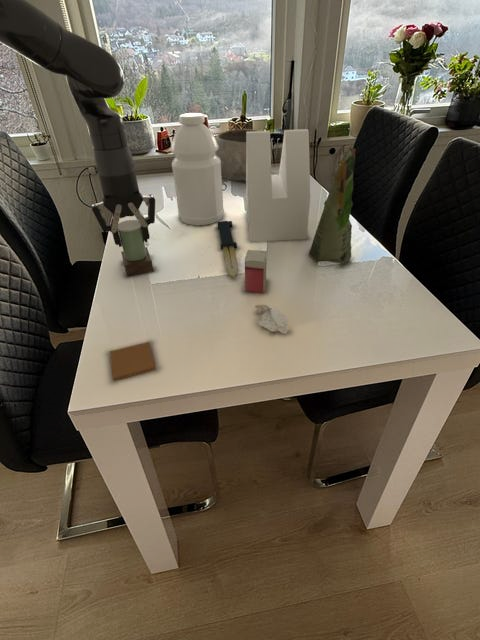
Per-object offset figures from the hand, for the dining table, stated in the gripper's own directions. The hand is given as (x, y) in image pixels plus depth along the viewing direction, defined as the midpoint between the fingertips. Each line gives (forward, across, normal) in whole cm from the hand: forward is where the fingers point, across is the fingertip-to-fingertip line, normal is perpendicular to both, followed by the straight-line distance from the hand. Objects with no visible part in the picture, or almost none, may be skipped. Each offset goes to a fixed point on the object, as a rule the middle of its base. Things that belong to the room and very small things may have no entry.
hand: (132, 242), depth 88 cm
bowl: (+7, -48, -56) cm, 73 cm away
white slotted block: (+7, -40, -8) cm, 42 cm away
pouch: (+7, -46, +14) cm, 48 cm away
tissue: (+7, -22, +32) cm, 40 cm away
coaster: (+6, +6, +34) cm, 35 cm away
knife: (+7, -24, 0) cm, 24 cm away
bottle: (+7, -22, -24) cm, 33 cm away
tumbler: (+3, 0, 0) cm, 3 cm away
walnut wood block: (+6, 0, 0) cm, 6 cm away
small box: (+7, -24, +20) cm, 31 cm away
